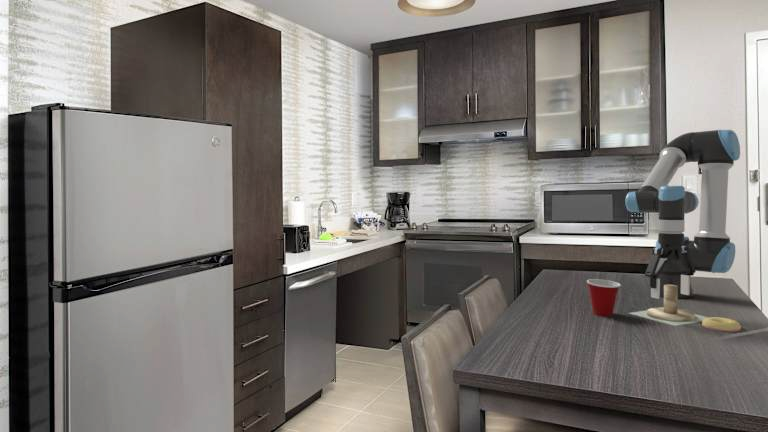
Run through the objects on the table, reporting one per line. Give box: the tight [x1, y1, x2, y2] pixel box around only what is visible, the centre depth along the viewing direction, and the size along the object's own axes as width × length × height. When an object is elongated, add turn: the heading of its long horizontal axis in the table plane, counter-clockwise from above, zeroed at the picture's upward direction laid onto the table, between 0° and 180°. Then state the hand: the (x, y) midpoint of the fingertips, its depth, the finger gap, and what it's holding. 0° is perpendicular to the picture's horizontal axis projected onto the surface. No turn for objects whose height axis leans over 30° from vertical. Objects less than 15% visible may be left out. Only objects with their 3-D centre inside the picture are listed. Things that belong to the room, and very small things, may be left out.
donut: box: [701, 316, 742, 333], centre depth 159 cm, size 10×5×9 cm
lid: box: [646, 285, 696, 321], centre depth 173 cm, size 14×14×10 cm
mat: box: [628, 309, 708, 327], centre depth 173 cm, size 18×18×1 cm
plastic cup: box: [586, 278, 622, 317], centre depth 178 cm, size 11×11×12 cm
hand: (670, 296), depth 173 cm, fingers open, 13 cm apart
